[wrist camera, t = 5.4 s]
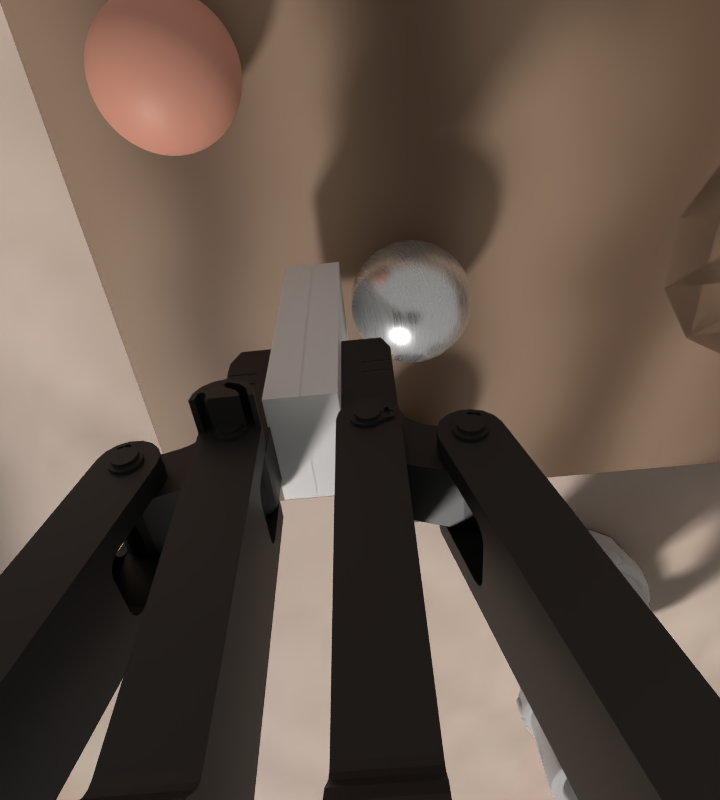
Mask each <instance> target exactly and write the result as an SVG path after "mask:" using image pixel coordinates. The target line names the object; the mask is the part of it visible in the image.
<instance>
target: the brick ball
mask: <svg viewBox="0 0 720 800" xmlns="http://www.w3.org/2000/svg"><path fill="white" fill-rule="evenodd" d="M84 67H85V75H86V79H87V83H88V87H89V90H90V93H91V95H92V98H93V100H94V102H95V104H96V106H97V108H98V109H99V111H100V112H101V114H102V115H103V117H104V118H105V119H106V121H107V122H108V123H109V124H110V125H111V126H112V127H113V128H114V130H115V131H116V132H118V133H119V134H120V135H121V136H122V137H124V138H125V139H126V140H128V141H129V142H131V143H132V144H134V145H136V146H138V147H140V148H142V149H144V150H147V151H149V152H152V153H156V154H160V155H167V156H182V155H188V154H193V153H196V152H199V151H201V150H203V149H205V148H207V147H209V146H211V145H212V144H213V143H215V142H216V141H217V140H218V139H220V138H221V137H222V136H223V135H224V134H225V132H226V131H227V130H228V128H229V127H230V126H231V124H232V122H233V120H234V118H235V116H236V113H237V111H238V108H239V104H240V100H241V95H242V70H241V64H240V60H239V55H238V53H237V50H236V47H235V44H234V42H233V40H232V38H231V36H230V34H229V32H228V31H227V29H226V28H225V26H224V25H223V23H222V22H221V21H220V20H219V18H218V17H217V16H216V15H215V14H214V13H213V12H212V11H211V10H210V9H209V8H208V7H207V6H206V5H205V4H203V3H202V2H201V1H199V0H108V1H107V2H106V3H105V4H104V5H103V6H102V8H101V9H100V10H99V11H98V13H97V14H96V16H95V18H94V19H93V21H92V23H91V25H90V28H89V30H88V33H87V37H86V41H85V48H84Z"/></svg>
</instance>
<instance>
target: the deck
mask: <svg viewBox="0 0 720 800" xmlns="http://www.w3.org/2000/svg"><path fill="white" fill-rule="evenodd" d="M107 1H108V0H0V3H1V6H2V8H3V11H4V14H5V17H6V20H7V22H8V25H9V28H10V31H11V33H12V36H13V39H14V42H15V45H16V47H17V50H18V53H19V56H20V58H21V61H22V64H23V67H24V69H25V72H26V75H27V78H28V81H29V83H30V86H31V89H32V92H33V94H34V97H35V100H36V103H37V106H38V108H39V111H40V114H41V117H42V119H43V122H44V125H45V128H46V131H47V133H48V136H49V139H50V142H51V144H52V147H53V150H54V153H55V155H56V158H57V161H58V164H59V167H60V169H61V172H62V175H63V178H64V180H65V183H66V186H67V189H68V192H69V194H70V197H71V200H72V203H73V205H74V208H75V211H76V214H77V216H78V219H79V222H80V225H81V228H82V230H83V233H84V236H85V239H86V241H87V244H88V247H89V250H90V253H91V255H92V258H93V261H94V264H95V266H96V269H97V272H98V275H99V278H100V280H101V283H102V286H103V289H104V291H105V294H106V297H107V300H108V302H109V305H110V308H111V311H112V314H113V316H114V319H115V322H116V325H117V327H118V330H119V333H120V336H121V339H122V341H123V344H124V347H125V350H126V352H127V355H128V358H129V361H130V363H131V366H132V369H133V372H134V375H135V377H136V380H137V383H138V386H139V388H140V391H141V394H142V397H143V400H144V402H145V405H146V408H147V411H148V413H149V416H150V419H151V422H152V425H153V427H154V430H155V433H156V436H157V438H158V441H159V444H160V447H161V449H162V452H163V454H165V453H168V452H171V451H175V450H178V449H181V448H184V447H186V446H189V445H191V444H193V443H195V442H196V439H197V436H198V431H197V427H196V424H195V421H194V418H193V415H192V412H191V408H190V405H189V402H188V400H189V398H190V397H191V395H192V394H193V393H194V392H195V391H197V390H198V389H199V388H201V387H202V386H204V385H207V384H209V383H212V382H214V381H219V380H224V379H226V378H227V374H228V371H229V367H230V364H231V363H232V362H233V361H234V360H235V358H236V357H237V356H238V355H239V354H240V353H241V352H247V351H258V350H268V349H271V347H272V342H273V337H274V331H275V326H276V321H277V315H278V310H279V305H280V299H281V294H282V289H283V283H284V278H285V273H286V267H294V266H304V265H314V264H324V263H334V262H339V268H340V276H341V284H342V292H343V300H344V309H345V317H346V325H347V333H348V340H358V339H363V338H362V337H361V335H360V334H359V332H358V330H357V328H356V326H355V323H354V320H353V317H352V311H351V293H352V288H353V284H354V281H355V279H356V276H357V274H358V272H359V271H360V269H361V267H362V266H363V265H364V264H365V262H366V261H367V260H368V259H369V258H370V257H371V256H372V255H373V254H374V253H376V252H377V251H379V250H380V249H382V248H384V247H386V246H388V245H390V244H393V243H396V242H401V241H408V240H416V241H424V242H428V243H432V244H434V245H436V246H438V247H441V248H442V249H444V250H445V251H447V252H448V253H450V254H451V255H452V256H453V257H454V258H455V259H456V260H457V261H458V262H459V264H460V265H461V267H462V268H463V270H464V271H465V273H466V275H467V278H468V280H469V284H470V288H471V293H472V307H471V314H470V317H469V321H468V324H467V326H466V328H465V330H464V332H463V333H462V335H461V336H460V338H459V339H458V340H457V341H456V343H455V344H454V345H453V346H452V347H450V348H449V349H448V350H447V351H445V352H444V353H442V354H440V355H439V356H437V357H434V358H432V359H429V360H426V361H422V362H400V361H395V360H392V363H393V371H394V379H395V386H396V394H397V402H398V406H399V409H400V411H401V412H402V413H403V415H404V416H406V417H407V418H409V419H410V420H413V421H415V422H418V423H422V424H427V425H434V426H438V423H439V421H440V420H441V419H442V418H444V417H445V416H446V415H447V414H450V413H453V412H455V411H458V410H467V409H474V410H482V411H485V412H488V413H491V414H493V415H495V416H496V417H497V418H499V419H500V420H501V421H502V422H503V423H504V424H505V426H506V427H507V428H508V429H509V431H510V432H511V433H512V434H513V436H514V437H515V438H516V440H517V441H518V442H519V443H520V445H521V446H522V447H523V448H524V450H525V451H526V452H527V454H528V455H529V456H530V457H531V459H532V460H533V461H534V462H535V464H536V465H537V466H538V468H539V469H540V470H541V471H542V473H543V474H544V475H545V476H546V477H557V476H568V475H580V474H591V473H603V472H614V471H626V470H637V469H649V468H660V467H672V466H683V465H695V464H706V463H718V462H720V0H199V1H201V2H202V3H203V4H205V5H206V6H207V7H208V8H209V9H210V10H211V11H212V12H213V13H214V14H215V15H216V16H217V17H218V18H219V20H220V21H221V22H222V23H223V25H224V26H225V28H226V29H227V31H228V32H229V34H230V36H231V38H232V40H233V42H234V44H235V47H236V50H237V53H238V55H239V60H240V64H241V70H242V95H241V100H240V104H239V108H238V111H237V113H236V116H235V118H234V120H233V122H232V124H231V126H230V127H229V128H228V130H227V131H226V132H225V134H224V135H223V136H222V137H221V138H220V139H218V140H217V141H216V142H215V143H213V144H212V145H211V146H209V147H207V148H205V149H203V150H201V151H199V152H196V153H193V154H188V155H182V156H167V155H160V154H156V153H152V152H149V151H147V150H144V149H142V148H140V147H138V146H136V145H134V144H132V143H131V142H129V141H128V140H126V139H125V138H124V137H122V136H121V135H120V134H119V133H118V132H116V131H115V130H114V128H113V127H112V126H111V125H110V124H109V123H108V122H107V121H106V119H105V118H104V117H103V115H102V114H101V112H100V111H99V109H98V108H97V106H96V104H95V102H94V100H93V98H92V95H91V93H90V90H89V87H88V83H87V79H86V75H85V67H84V48H85V41H86V37H87V33H88V30H89V28H90V25H91V23H92V21H93V19H94V18H95V16H96V14H97V13H98V11H99V10H100V9H101V8H102V6H103V5H104V4H105V3H106V2H107ZM334 496H335V495H334ZM322 497H327V496H322ZM311 498H316V497H311ZM299 499H304V498H299ZM279 500H280V501H281V500H285V499H284V494H283V490H282V486H281V490H280V498H279ZM288 500H293V499H288Z"/></svg>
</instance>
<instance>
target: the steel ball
mask: <svg viewBox="0 0 720 800" xmlns="http://www.w3.org/2000/svg"><path fill="white" fill-rule="evenodd" d="M471 307H472V293H471V288H470V284H469V280H468V278H467V275H466V273H465V271H464V270H463V268H462V267H461V265H460V264H459V262H458V261H457V260H456V259H455V258H454V257H453V256H452V255H451V254H450V253H448V252H447V251H445V250H444V249H442V248H441V247H438V246H436V245H434V244H432V243H428V242H424V241H416V240H408V241H401V242H396V243H393V244H390V245H388V246H386V247H384V248H382V249H380V250H379V251H377V252H376V253H374V254H373V255H372V256H371V257H370V258H369V259H368V260H367V261H366V262H365V264H364V265H363V266H362V267H361V269H360V271H359V272H358V274H357V276H356V279H355V281H354V284H353V288H352V293H351V311H352V317H353V320H354V323H355V326H356V328H357V330H358V332H359V334H360V335H361V337H362V338H363V339H368V338H379V337H381V338H382V339H383V340H384V341H385V342H386V343H387V344H388V345H389V346H390V348H391V356H392V360H395V361H400V362H422V361H426V360H429V359H432V358H434V357H437V356H439V355H440V354H442V353H444V352H445V351H447V350H448V349H449V348H450V347H452V346H453V345H454V344H455V343H456V341H457V340H458V339H459V338H460V336H461V335H462V333H463V332H464V330H465V328H466V326H467V324H468V321H469V317H470V314H471Z"/></svg>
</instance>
